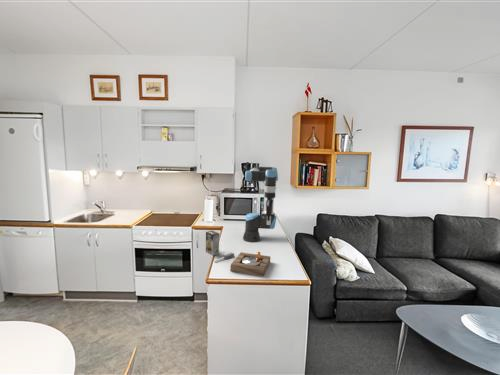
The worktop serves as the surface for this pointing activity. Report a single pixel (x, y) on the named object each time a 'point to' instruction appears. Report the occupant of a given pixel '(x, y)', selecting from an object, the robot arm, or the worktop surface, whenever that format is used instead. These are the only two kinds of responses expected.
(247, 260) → the dial
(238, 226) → the worktop surface
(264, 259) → the housing
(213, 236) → the coffee box
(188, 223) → the worktop surface
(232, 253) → the screwdriver
